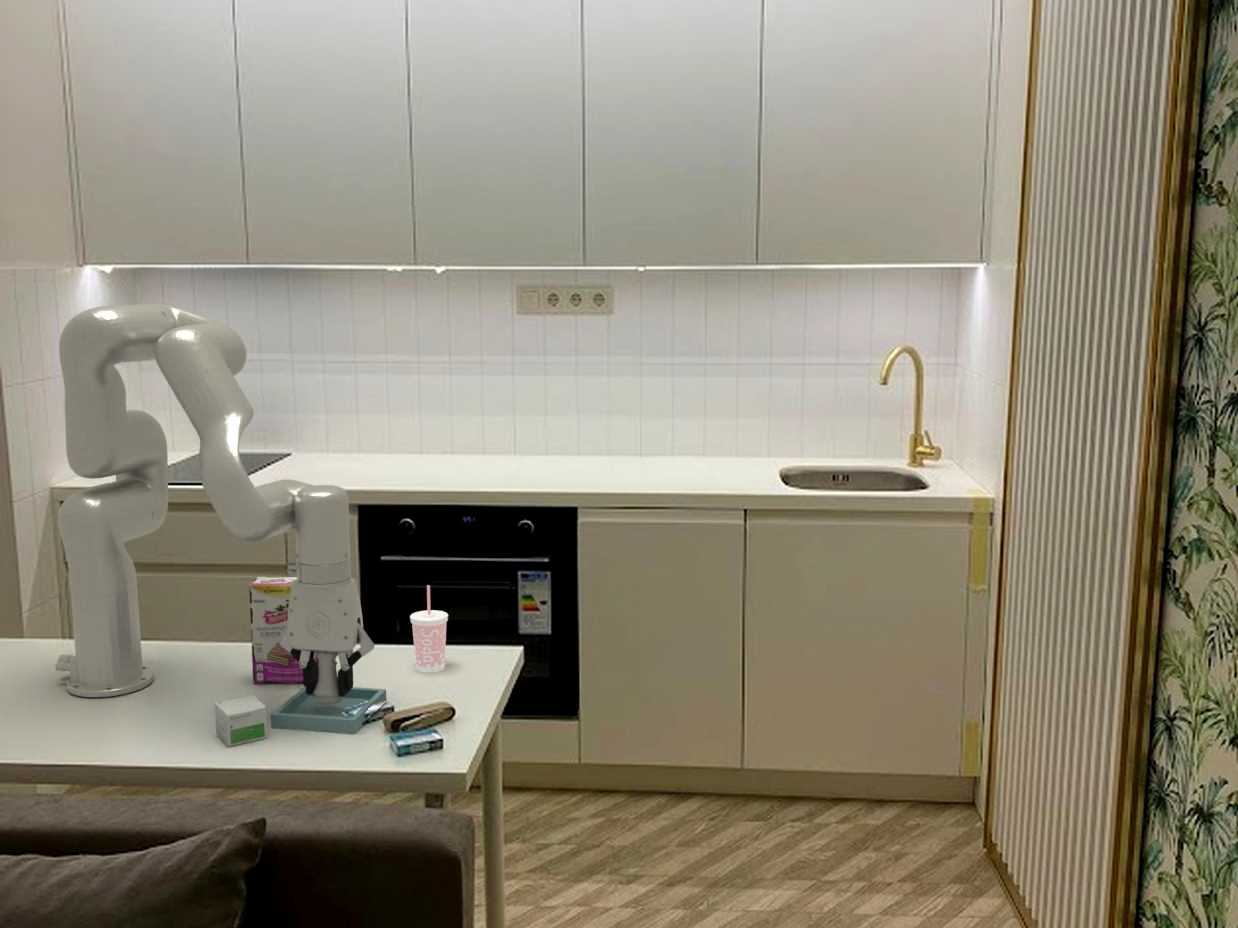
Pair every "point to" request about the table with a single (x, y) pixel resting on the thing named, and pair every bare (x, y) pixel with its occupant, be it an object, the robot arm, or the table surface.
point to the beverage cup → (429, 638)
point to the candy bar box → (272, 632)
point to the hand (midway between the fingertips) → (328, 691)
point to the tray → (325, 711)
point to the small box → (240, 720)
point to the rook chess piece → (327, 679)
